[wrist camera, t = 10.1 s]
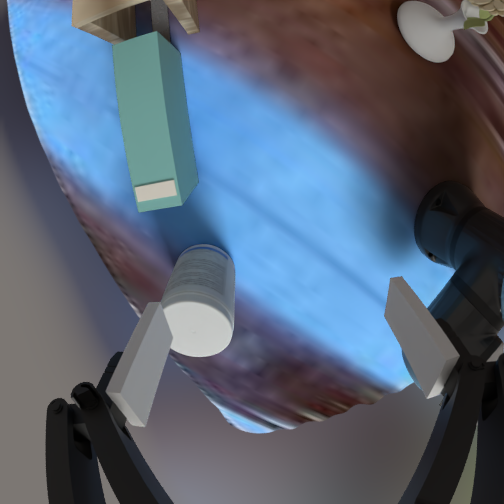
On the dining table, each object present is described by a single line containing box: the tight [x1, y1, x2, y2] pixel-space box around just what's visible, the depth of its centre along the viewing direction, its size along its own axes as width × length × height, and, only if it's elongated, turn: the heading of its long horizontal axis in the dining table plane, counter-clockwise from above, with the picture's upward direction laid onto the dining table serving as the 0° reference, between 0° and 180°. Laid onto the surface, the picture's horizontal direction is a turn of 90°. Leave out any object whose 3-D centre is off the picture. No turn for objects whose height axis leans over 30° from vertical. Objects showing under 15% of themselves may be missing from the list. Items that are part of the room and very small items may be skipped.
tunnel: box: [72, 0, 200, 45], centre depth 20 cm, size 11×8×15 cm
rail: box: [151, 0, 171, 44], centre depth 31 cm, size 2×32×1 cm, turn 7°
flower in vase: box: [397, 0, 504, 63], centre depth 16 cm, size 13×11×25 cm
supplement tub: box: [161, 244, 235, 357], centre depth 38 cm, size 10×10×15 cm
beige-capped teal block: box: [112, 31, 199, 212], centre depth 29 cm, size 5×19×11 cm, turn 7°
